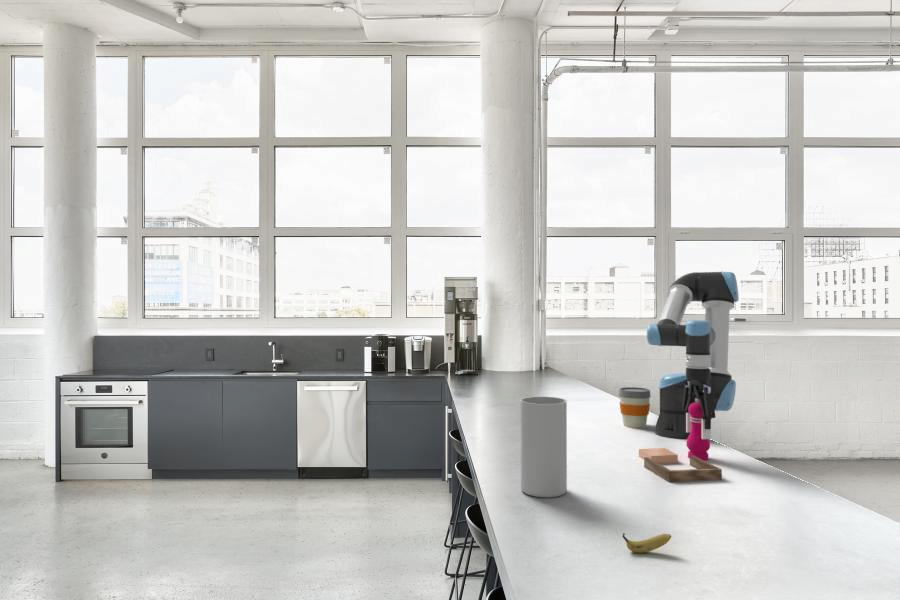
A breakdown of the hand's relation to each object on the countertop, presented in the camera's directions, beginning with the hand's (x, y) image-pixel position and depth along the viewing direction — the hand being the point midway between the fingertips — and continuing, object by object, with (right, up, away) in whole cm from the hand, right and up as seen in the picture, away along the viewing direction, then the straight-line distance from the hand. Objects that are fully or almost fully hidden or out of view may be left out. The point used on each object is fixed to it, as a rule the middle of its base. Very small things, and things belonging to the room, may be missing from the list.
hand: (698, 435), depth 201 cm
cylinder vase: (-56, -8, -33) cm, 66 cm away
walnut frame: (-12, -8, -17) cm, 22 cm away
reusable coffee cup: (-6, -7, +51) cm, 52 cm away
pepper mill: (0, -8, 0) cm, 8 cm away
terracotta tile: (-14, -8, -2) cm, 16 cm away
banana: (-41, -8, -74) cm, 85 cm away
